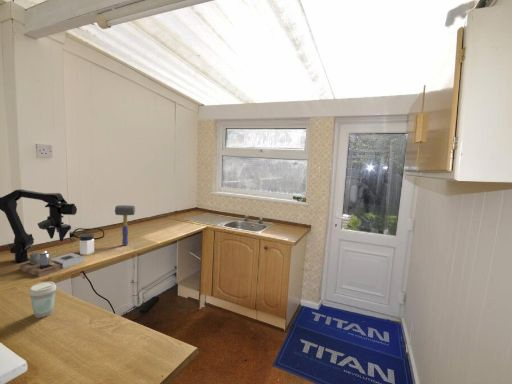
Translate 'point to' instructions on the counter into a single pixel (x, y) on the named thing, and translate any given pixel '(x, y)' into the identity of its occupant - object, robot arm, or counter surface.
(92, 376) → the counter surface
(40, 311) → the coffee cup
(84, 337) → the counter surface
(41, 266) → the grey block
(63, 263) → the socket
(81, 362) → the counter surface
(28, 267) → the rack
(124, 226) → the rubber mallet
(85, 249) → the jar
